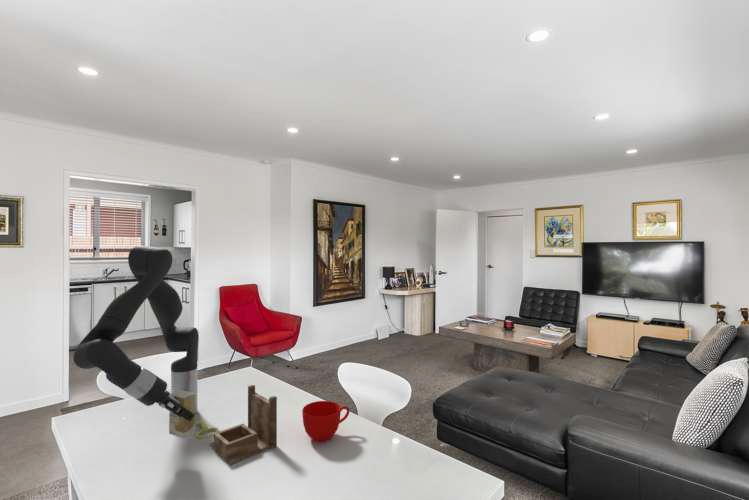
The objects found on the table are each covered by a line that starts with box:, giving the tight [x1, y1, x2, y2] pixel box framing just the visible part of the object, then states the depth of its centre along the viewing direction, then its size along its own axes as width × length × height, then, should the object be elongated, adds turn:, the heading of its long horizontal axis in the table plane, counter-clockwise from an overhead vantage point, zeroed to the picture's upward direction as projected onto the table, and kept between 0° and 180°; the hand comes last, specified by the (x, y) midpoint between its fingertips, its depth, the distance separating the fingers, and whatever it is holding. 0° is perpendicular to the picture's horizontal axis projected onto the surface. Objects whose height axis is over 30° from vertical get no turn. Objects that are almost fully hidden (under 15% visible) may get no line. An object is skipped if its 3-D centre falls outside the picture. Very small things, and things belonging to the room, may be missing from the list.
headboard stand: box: [210, 384, 278, 465], centre depth 125 cm, size 17×15×16 cm
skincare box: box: [168, 390, 196, 439], centre depth 117 cm, size 6×4×12 cm
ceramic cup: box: [301, 400, 350, 443], centre depth 131 cm, size 13×17×10 cm
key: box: [195, 418, 220, 440], centre depth 135 cm, size 7×12×2 cm, turn 56°
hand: (187, 413), depth 118 cm, fingers closed on skincare box, 7 cm apart
